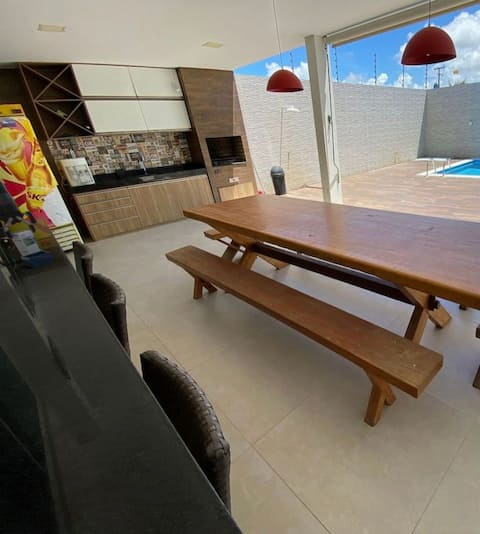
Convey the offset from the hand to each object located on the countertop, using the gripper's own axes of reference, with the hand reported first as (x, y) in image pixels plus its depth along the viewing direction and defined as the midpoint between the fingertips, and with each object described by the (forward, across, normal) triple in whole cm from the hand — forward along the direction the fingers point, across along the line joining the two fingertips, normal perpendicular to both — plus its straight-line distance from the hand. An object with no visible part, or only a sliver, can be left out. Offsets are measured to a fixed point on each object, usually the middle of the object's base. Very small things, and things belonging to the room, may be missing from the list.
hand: (22, 235), depth 151 cm
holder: (+12, +3, +13) cm, 18 cm away
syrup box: (+13, 0, 0) cm, 13 cm away
